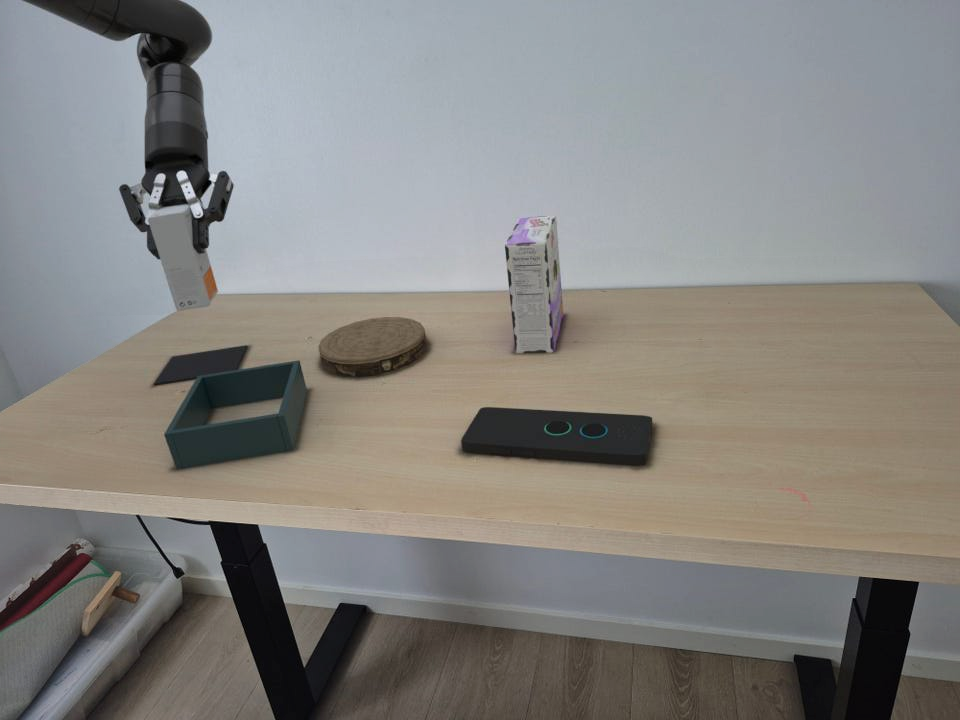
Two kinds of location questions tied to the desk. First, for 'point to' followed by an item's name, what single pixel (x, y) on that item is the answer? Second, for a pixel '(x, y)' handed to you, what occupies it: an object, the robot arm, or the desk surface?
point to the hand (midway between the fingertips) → (178, 252)
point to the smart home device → (560, 435)
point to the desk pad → (201, 364)
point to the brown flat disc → (373, 347)
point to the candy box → (534, 284)
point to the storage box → (243, 436)
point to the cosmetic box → (182, 258)
